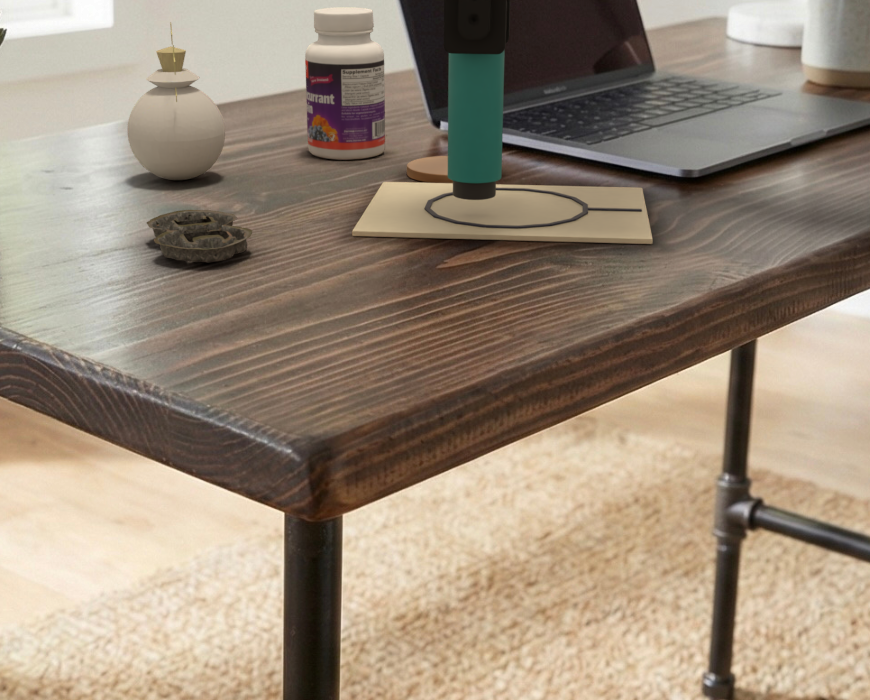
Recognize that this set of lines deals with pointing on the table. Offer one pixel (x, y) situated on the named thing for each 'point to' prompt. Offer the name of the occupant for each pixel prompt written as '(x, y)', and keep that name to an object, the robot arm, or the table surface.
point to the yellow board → (508, 214)
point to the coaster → (429, 169)
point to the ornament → (175, 122)
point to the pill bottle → (345, 86)
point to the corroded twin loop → (199, 235)
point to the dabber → (475, 124)
